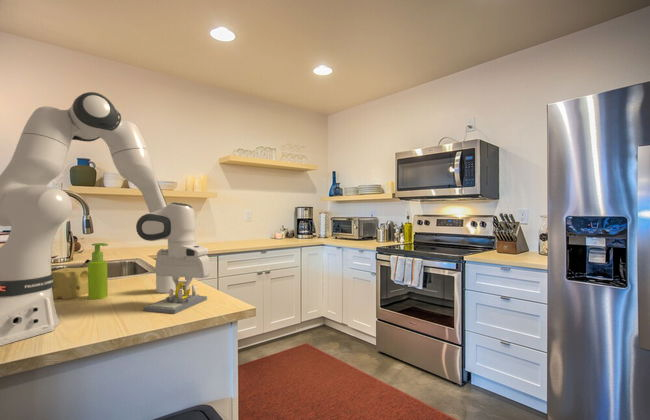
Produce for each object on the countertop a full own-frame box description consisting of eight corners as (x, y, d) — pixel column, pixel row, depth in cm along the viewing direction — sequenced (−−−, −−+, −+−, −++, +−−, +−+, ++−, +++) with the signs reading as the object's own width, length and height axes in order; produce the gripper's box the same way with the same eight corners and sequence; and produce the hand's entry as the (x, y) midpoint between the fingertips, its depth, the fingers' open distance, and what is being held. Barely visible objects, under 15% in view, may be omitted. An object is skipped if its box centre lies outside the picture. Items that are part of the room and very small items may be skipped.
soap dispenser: (100, 299, 120) (99, 244, 120) (84, 299, 121) (83, 244, 121) (113, 295, 126) (113, 242, 125) (98, 294, 127) (97, 242, 127)
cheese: (71, 299, 121) (71, 272, 121) (42, 299, 121) (41, 272, 121) (92, 292, 132) (91, 266, 131) (65, 292, 132) (64, 267, 132)
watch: (180, 301, 113) (179, 284, 113) (173, 301, 114) (172, 283, 113) (192, 295, 119) (191, 279, 118) (185, 295, 120) (184, 278, 119)
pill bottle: (151, 292, 130) (151, 253, 130) (169, 287, 137) (169, 251, 137) (165, 294, 127) (164, 254, 126) (183, 289, 134) (182, 252, 133)
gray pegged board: (175, 313, 103) (174, 296, 103) (143, 310, 107) (143, 294, 107) (206, 299, 119) (206, 285, 119) (178, 297, 122) (178, 283, 122)
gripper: (150, 249, 115) (150, 289, 116) (201, 251, 110) (201, 293, 110) (163, 247, 122) (164, 285, 122) (212, 249, 116) (213, 289, 116)
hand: (182, 289), depth 116 cm, fingers closed on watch
